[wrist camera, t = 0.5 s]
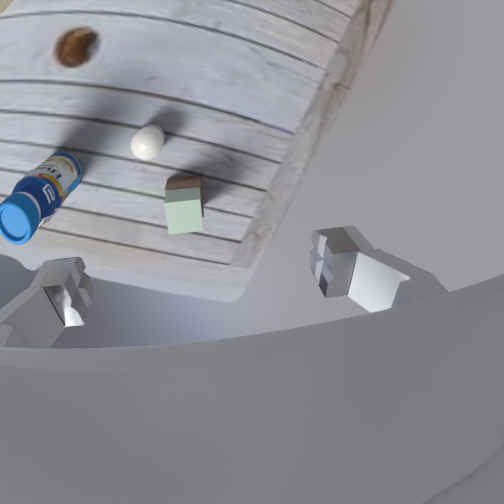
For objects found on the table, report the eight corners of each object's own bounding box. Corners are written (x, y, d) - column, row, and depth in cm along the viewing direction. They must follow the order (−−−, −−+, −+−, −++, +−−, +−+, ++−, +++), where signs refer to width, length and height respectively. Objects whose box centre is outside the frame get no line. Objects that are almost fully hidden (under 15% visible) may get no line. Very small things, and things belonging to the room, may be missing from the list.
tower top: (166, 190, 46) (164, 203, 42) (199, 186, 47) (200, 199, 43) (171, 219, 50) (169, 234, 46) (202, 216, 50) (203, 230, 46)
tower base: (167, 178, 50) (164, 189, 46) (200, 175, 51) (200, 185, 47) (171, 208, 54) (169, 221, 50) (203, 204, 55) (204, 217, 51)
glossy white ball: (135, 126, 44) (129, 132, 40) (163, 122, 44) (160, 127, 40) (138, 153, 47) (133, 162, 43) (166, 149, 47) (163, 157, 43)
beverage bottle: (47, 191, 46) (-3, 248, 30) (44, 150, 41) (-15, 195, 25) (83, 192, 48) (41, 253, 32) (83, 150, 44) (32, 196, 27)
